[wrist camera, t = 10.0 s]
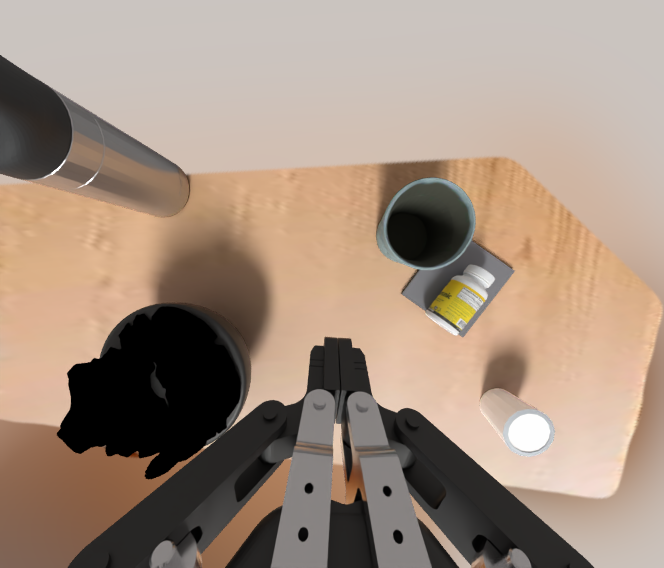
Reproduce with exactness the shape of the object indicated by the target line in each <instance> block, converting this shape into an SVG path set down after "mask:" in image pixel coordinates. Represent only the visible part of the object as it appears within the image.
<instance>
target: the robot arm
mask: <svg viewBox="0 0 664 568" xmlns="http://www.w3.org/2000/svg"><path fill="white" fill-rule="evenodd" d="M0 174H3V175H6V176H10V177H14V178H18V179H21V180H25V181H29V182H32V183H36V184H40V185H43V186H47V187H51V188H55V189H59V190H62V191H66V192H69V193H73V194H77V195H80V196H84V197H88V198H91V199H95V200H99V201H102V202H106V203H110V204H113V205H117V206H121V207H124V208H128V209H131V210H135V211H138V212H142V213H146V214H149V215H153V216H157V217H169V216H172V215H175V214H176V213H178V212H179V211H180V210H181V209H182V208H183V207H184V205H185V204H186V202H187V199H188V196H189V184H188V180H187V177H186V175H185V173H184V172H183V171H182V169H181V168H180V167H178V166H177V165H176V164H174V163H172V162H171V161H169V160H168V159H166V158H164V157H163V156H161V155H160V154H158V153H157V152H155V151H153V150H152V149H150V148H148V147H147V146H145V145H144V144H142V143H140V142H139V141H137V140H136V139H134V138H132V137H131V136H129V135H127V134H126V133H124V132H123V131H121V130H119V129H118V128H116V127H115V126H113V125H111V124H110V123H108V122H106V121H105V120H103V119H102V118H100V117H98V116H97V115H95V114H93V113H92V112H90V111H89V110H87V109H85V108H84V107H82V106H80V105H78V104H77V103H75V102H73V101H72V100H70V99H69V98H67V97H66V96H64V95H62V94H61V93H59V92H57V91H56V90H54V89H53V88H51V87H49V86H48V85H46V84H44V83H43V82H41V81H39V80H38V79H36V78H34V77H33V76H31V75H30V74H28V73H27V72H25V71H23V70H22V69H20V68H19V67H17V66H16V65H14V64H13V63H11V62H10V61H8V60H7V59H5V58H4V57H2V56H1V55H0ZM335 419H336V423H337V424H341V428H342V433H341V439H340V441H341V450H342V459H343V468H344V477H345V486H346V496H345V499H346V500H345V503H346V504H341V503H339V502H336V501H333V500H331V485H332V467H333V431H334V423H335ZM290 457H292V461H291V466H290V471H289V476H288V482H287V487H286V492H285V497H284V502H283V505H282V506H280V507H278V508H276V509H275V510H273V511H272V512H270V513H269V514H268V515H267V516H266V517H264V518H263V519H262V520H261V521H260V523H259V524H258V525H257V526H256V527H255V528H254V530H253V531H252V532H251V534H250V535H249V536H248V538H247V539H246V541H245V542H244V543H243V544H242V546H241V547H240V548H239V550H238V551H237V552H236V554H235V555H234V556H233V558H232V559H231V560H230V562H229V563H228V564H227V566H226V567H225V568H459V567H458V566H457V565H456V563H455V562H454V561H453V559H452V558H451V557H450V555H449V554H448V553H447V552H446V550H445V549H444V548H443V546H442V545H441V544H440V543H439V541H438V540H437V539H436V538H435V536H434V535H433V534H432V532H431V531H430V530H429V529H428V528H427V527H426V526H425V524H424V523H423V522H422V521H420V520H419V519H418V518H417V517H416V514H415V511H414V507H413V504H412V501H411V497H410V494H411V495H412V497H413V498H414V499H415V500H416V501H417V502H418V504H419V505H420V506H421V507H422V508H423V510H424V511H425V512H426V513H427V514H428V515H429V516H430V518H431V519H432V520H433V521H434V522H435V524H436V525H437V526H438V527H439V528H440V529H441V531H442V532H443V533H444V534H445V535H446V537H447V538H448V539H449V540H450V541H451V542H452V544H453V545H454V546H455V547H456V548H457V549H458V551H459V552H460V553H461V554H462V555H463V557H464V558H465V559H466V560H467V561H468V562H469V563H470V565H471V568H594V567H593V566H592V565H591V564H590V563H589V562H588V561H587V560H586V559H585V558H584V557H583V556H582V555H581V554H579V553H578V552H577V551H576V550H575V549H574V548H572V546H571V545H569V544H568V543H567V542H566V541H565V540H564V539H563V538H561V537H560V536H559V535H558V534H557V533H556V532H555V531H553V530H552V529H551V528H550V527H549V526H548V525H547V524H545V523H544V522H543V521H542V520H541V519H540V518H539V517H538V516H536V515H535V514H534V513H533V512H532V511H531V510H530V509H528V508H527V507H526V506H525V505H524V504H523V503H522V502H520V501H519V500H518V499H517V498H516V497H515V496H514V495H513V494H511V493H510V492H509V491H508V490H507V489H506V488H505V487H503V486H502V485H501V484H500V483H499V482H498V481H497V480H495V479H494V478H493V477H492V476H491V475H490V474H489V473H488V472H486V471H485V470H484V469H483V468H482V467H481V466H480V465H478V464H477V463H476V462H475V461H474V460H473V459H472V458H470V457H469V456H468V455H467V454H466V453H465V452H464V451H462V450H461V449H460V448H459V447H458V446H457V445H456V444H455V443H453V442H452V441H451V440H450V439H449V438H448V437H447V436H445V435H444V434H443V433H442V432H441V431H440V430H439V429H437V428H436V427H435V426H434V425H433V424H432V423H431V422H429V421H428V420H427V419H426V418H425V417H424V416H423V415H422V414H420V413H419V412H417V411H416V410H413V409H410V408H404V409H401V410H400V411H399V412H398V413H396V412H393V411H391V410H388V409H385V408H383V407H382V406H380V405H379V404H378V403H377V402H376V400H375V399H374V398H373V396H372V393H371V387H370V382H369V377H368V371H367V366H366V361H365V355H364V354H363V352H362V351H361V350H360V348H352V342H351V339H349V338H338V339H337V338H334V337H325V339H324V346H314V348H313V349H312V351H311V354H310V364H309V375H308V385H307V392H306V394H305V396H304V397H303V399H301V400H300V401H299V402H297V403H295V404H291V405H287V406H284V405H283V404H282V403H281V402H279V401H275V400H270V401H266V402H264V403H262V404H260V405H259V406H258V407H256V408H255V409H254V410H253V411H252V412H250V413H249V414H248V415H247V416H245V417H244V418H243V419H242V420H241V421H239V422H238V423H237V424H236V425H234V426H233V427H232V428H231V429H230V430H228V431H227V432H226V433H225V434H223V435H222V436H221V437H220V438H218V439H217V440H216V441H215V442H214V443H212V444H211V445H210V446H209V447H207V448H206V449H205V450H204V451H203V452H201V453H200V454H199V455H198V456H197V457H195V458H194V459H193V460H192V461H190V462H189V463H188V464H187V465H185V466H184V467H183V468H182V469H180V470H179V471H178V472H177V473H176V474H174V475H173V476H172V477H171V478H169V479H168V480H167V481H166V482H165V483H163V484H162V485H161V486H160V487H158V488H157V489H156V490H155V491H154V492H152V493H151V494H150V495H149V496H147V497H146V498H145V499H144V500H143V501H141V502H140V503H139V504H138V505H136V506H135V507H134V508H133V509H131V510H130V511H129V512H128V513H127V514H125V515H124V516H123V517H122V518H120V519H119V520H118V521H117V522H115V523H114V524H113V525H112V526H111V527H109V528H108V529H107V530H106V531H104V532H103V533H102V534H101V535H100V536H98V537H97V538H96V539H95V540H93V541H92V542H91V543H90V544H88V545H87V546H86V547H85V548H84V549H83V550H82V551H81V552H80V553H79V554H78V555H77V556H76V557H75V558H74V560H73V561H72V562H71V563H70V565H69V566H68V568H202V559H201V553H202V552H203V551H204V550H205V549H206V548H207V547H208V546H209V545H210V543H211V542H212V541H213V540H214V539H215V538H216V537H217V536H218V535H219V533H220V532H221V531H222V530H223V529H224V528H225V527H226V526H227V524H228V523H229V522H230V521H231V520H232V519H233V518H234V517H235V515H236V514H237V513H238V512H239V511H240V510H241V509H242V507H243V506H244V505H245V504H246V503H247V502H248V501H249V500H250V499H251V497H252V496H253V495H254V494H255V493H256V492H257V491H258V489H259V488H260V487H261V486H262V485H263V484H264V483H265V482H266V480H267V479H268V478H269V477H270V476H271V475H272V474H273V472H275V470H276V469H277V468H278V467H279V466H280V465H281V463H282V462H283V461H284V459H287V458H290ZM409 493H410V494H409Z"/></svg>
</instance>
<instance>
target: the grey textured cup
mask: <svg viewBox="0 0 664 568" xmlns="http://www.w3.org/2000/svg"><path fill="white" fill-rule="evenodd" d="M474 231H475V211H474V208H473V205H472V202H471V200H470V199H469V197H468V196H467V194H466V193H465V192H464V191H463V190H462V189H461V188H460V187H459V186H457V185H456V184H454V183H452V182H450V181H448V180H445V179H441V178H422V179H419V180H416V181H413V182H411V183H409V184H408V185H406V186H404V187H403V188H402V189H401V190H400V191H398V192H397V194H396V195H395V196H394V197H393V199H392V200H391V202H390V204H389V205H388V207H387V209H386V211H385V213H384V215H383V217H382V220H381V221H380V223H379V225H378V228H377V233H376V239H377V244H378V247H379V249H380V250H381V252H382V253H383V254H384V255H385V256H386V257H387V258H389V259H390V260H393V261H395V262H398V263H401V264H404V265H407V266H409V267H412V268H414V269H419V270H434V269H439V268H442V267H444V266H447V265H449V264H451V263H452V262H454V261H455V260H456V259H458V258H459V257H460V256H461V255H462V254H463V253H464V251H465V250H466V248H467V246H468V245H469V243H470V242H471V240H472V237H473V234H474Z"/></svg>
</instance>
